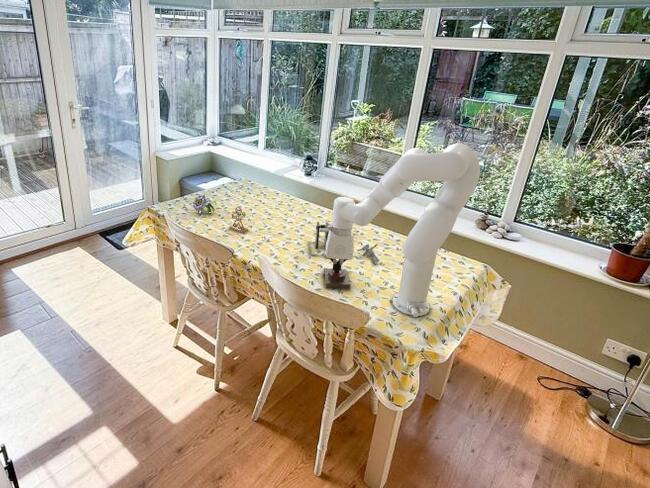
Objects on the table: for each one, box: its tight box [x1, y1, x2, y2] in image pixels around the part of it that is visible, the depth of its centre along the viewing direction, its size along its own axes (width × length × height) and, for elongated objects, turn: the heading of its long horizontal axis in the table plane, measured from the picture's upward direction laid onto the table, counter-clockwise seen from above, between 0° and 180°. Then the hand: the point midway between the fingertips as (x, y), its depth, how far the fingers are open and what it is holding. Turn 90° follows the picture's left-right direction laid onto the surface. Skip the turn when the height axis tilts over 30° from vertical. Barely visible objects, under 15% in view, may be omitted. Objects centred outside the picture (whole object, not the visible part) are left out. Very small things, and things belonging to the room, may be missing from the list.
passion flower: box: [190, 193, 218, 215], centre depth 221 cm, size 11×11×12 cm
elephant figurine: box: [360, 243, 381, 265], centre depth 176 cm, size 10×6×9 cm
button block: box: [323, 267, 351, 290], centre depth 161 cm, size 11×9×4 cm
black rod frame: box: [314, 221, 330, 250], centre depth 183 cm, size 12×10×13 cm
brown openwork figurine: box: [228, 206, 249, 234], centre depth 200 cm, size 9×4×12 cm, turn 55°
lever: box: [319, 224, 330, 233], centre depth 176 cm, size 12×5×2 cm, turn 175°
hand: (336, 271), depth 160 cm, fingers closed
